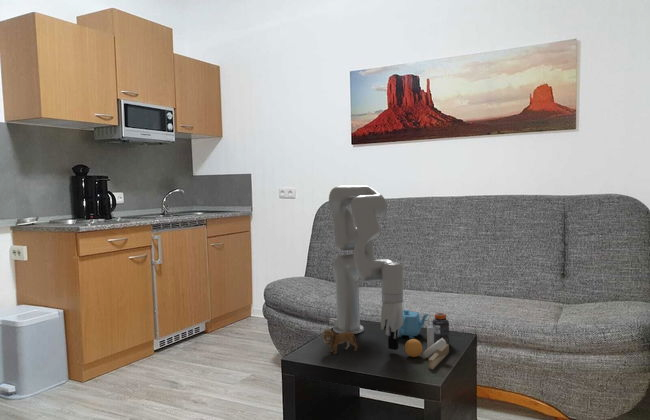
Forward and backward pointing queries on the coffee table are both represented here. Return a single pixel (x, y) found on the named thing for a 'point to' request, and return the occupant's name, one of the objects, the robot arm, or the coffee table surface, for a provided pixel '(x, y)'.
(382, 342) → the coffee table surface
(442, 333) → the pill bottle
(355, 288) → the robot arm
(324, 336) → the lion figurine
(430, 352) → the white pin
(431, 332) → the grey pin
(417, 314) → the teapot
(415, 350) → the ball
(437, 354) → the tan wooden bar
